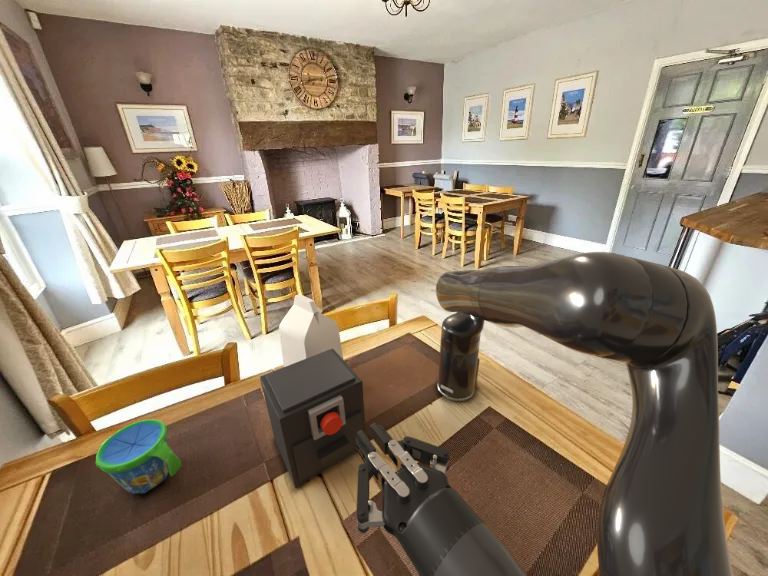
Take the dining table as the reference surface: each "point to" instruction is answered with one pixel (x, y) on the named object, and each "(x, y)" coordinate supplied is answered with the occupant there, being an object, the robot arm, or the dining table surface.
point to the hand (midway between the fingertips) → (365, 432)
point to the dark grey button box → (314, 413)
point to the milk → (307, 332)
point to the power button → (331, 423)
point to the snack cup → (138, 456)
